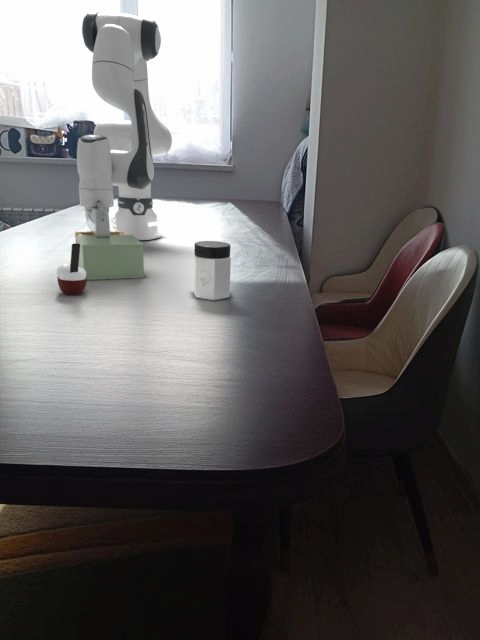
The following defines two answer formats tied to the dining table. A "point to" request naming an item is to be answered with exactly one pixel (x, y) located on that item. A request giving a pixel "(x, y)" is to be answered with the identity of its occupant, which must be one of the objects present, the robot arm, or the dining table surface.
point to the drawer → (92, 233)
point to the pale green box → (111, 257)
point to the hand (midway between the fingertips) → (99, 250)
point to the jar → (212, 270)
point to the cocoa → (72, 274)
